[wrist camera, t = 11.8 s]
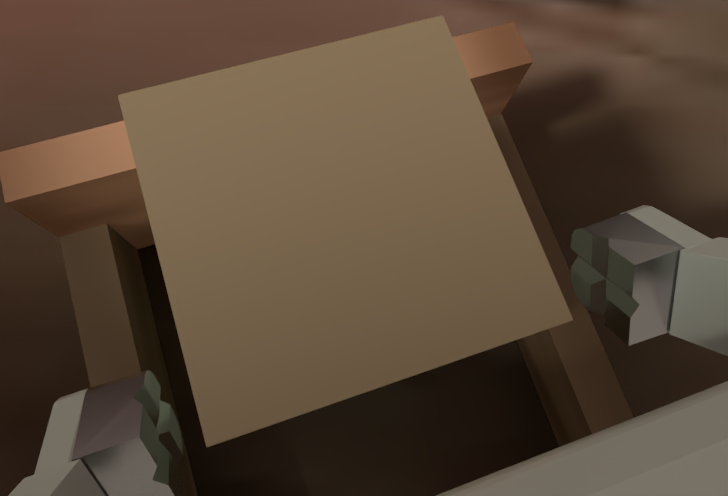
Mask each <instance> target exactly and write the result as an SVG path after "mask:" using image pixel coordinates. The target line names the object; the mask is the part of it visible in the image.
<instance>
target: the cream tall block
mask: <svg viewBox="0 0 728 496" xmlns="http://www.w3.org/2000/svg"><path fill="white" fill-rule="evenodd" d="M118 98H119V102H120V106H121V110H122V114H123V118H124V122H125V126H126V130H127V134H128V138H129V142H130V146H131V150H132V154H133V158H134V162H135V166H136V170H137V174H138V178H139V182H140V185H141V189H142V193H143V197H144V201H145V205H146V209H147V213H148V217H149V221H150V225H151V229H152V233H153V237H154V241H155V245H156V249H157V253H158V257H159V261H160V265H161V269H162V273H163V277H164V281H165V285H166V289H167V293H168V297H169V301H170V305H171V309H172V313H173V316H174V320H175V324H176V328H177V332H178V336H179V340H180V344H181V348H182V352H183V356H184V360H185V364H186V368H187V372H188V376H189V380H190V384H191V388H192V392H193V396H194V400H195V404H196V408H197V412H198V416H199V420H200V424H201V428H202V432H203V436H204V440H205V443H206V447H210V446H212V445H215V444H218V443H221V442H224V441H227V440H230V439H233V438H235V437H238V436H241V435H244V434H247V433H250V432H253V431H256V430H259V429H261V428H264V427H267V426H270V425H273V424H276V423H279V422H282V421H284V420H287V419H290V418H293V417H296V416H299V415H302V414H305V413H307V412H310V411H313V410H316V409H319V408H322V407H325V406H328V405H330V404H333V403H336V402H339V401H342V400H345V399H348V398H351V397H354V396H356V395H359V394H362V393H365V392H368V391H371V390H374V389H377V388H379V387H382V386H385V385H388V384H391V383H394V382H397V381H400V380H402V379H405V378H408V377H411V376H414V375H417V374H420V373H423V372H425V371H428V370H431V369H434V368H437V367H440V366H443V365H446V364H449V363H451V362H454V361H457V360H460V359H463V358H466V357H469V356H472V355H474V354H477V353H480V352H483V351H486V350H489V349H492V348H495V347H497V346H500V345H503V344H506V343H509V342H512V341H515V340H518V339H520V338H523V337H526V336H529V335H532V334H535V333H538V332H541V331H544V330H546V329H549V328H552V327H555V326H558V325H561V324H564V323H567V322H569V321H572V320H573V318H572V316H571V313H570V311H569V309H568V306H567V304H566V302H565V299H564V297H563V295H562V292H561V290H560V288H559V285H558V283H557V281H556V278H555V276H554V274H553V271H552V269H551V267H550V264H549V262H548V260H547V257H546V255H545V253H544V250H543V248H542V246H541V243H540V241H539V239H538V236H537V234H536V232H535V229H534V227H533V225H532V222H531V220H530V218H529V215H528V213H527V211H526V208H525V206H524V204H523V201H522V199H521V197H520V194H519V192H518V190H517V187H516V185H515V183H514V180H513V178H512V176H511V173H510V171H509V169H508V166H507V164H506V162H505V159H504V157H503V155H502V152H501V150H500V148H499V145H498V143H497V141H496V138H495V136H494V134H493V131H492V129H491V127H490V124H489V122H488V120H487V117H486V115H485V113H484V110H483V108H482V106H481V103H480V101H479V99H478V96H477V94H476V92H475V89H474V87H473V85H472V82H471V80H470V78H469V75H468V73H467V71H466V68H465V66H464V64H463V61H462V59H461V57H460V54H459V52H458V50H457V47H456V45H455V43H454V40H453V38H452V36H451V33H450V31H449V29H448V26H447V24H446V22H445V19H444V17H443V15H441V16H437V17H433V18H429V19H425V20H421V21H417V22H413V23H409V24H405V25H401V26H397V27H393V28H389V29H385V30H381V31H376V32H372V33H368V34H364V35H360V36H356V37H352V38H348V39H344V40H340V41H336V42H332V43H328V44H324V45H320V46H316V47H311V48H307V49H303V50H299V51H295V52H291V53H287V54H283V55H279V56H275V57H271V58H267V59H263V60H259V61H255V62H251V63H247V64H242V65H238V66H234V67H230V68H226V69H222V70H218V71H214V72H210V73H206V74H202V75H198V76H194V77H190V78H186V79H182V80H177V81H173V82H169V83H165V84H161V85H157V86H153V87H149V88H145V89H141V90H137V91H133V92H129V93H125V94H121V95H118Z"/></svg>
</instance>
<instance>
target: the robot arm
mask: <svg viewBox="0 0 728 496" xmlns="http://www.w3.org/2000/svg"><path fill="white" fill-rule="evenodd" d="M571 249H572V250H573V251H574V253H575V254H576V255H577V258H576V260H575V261H574V263H573V265H572V266H571V283H572V286H573V289H574V291H575V294H576V296H577V298H578V299H579V300H580V302H581V303H582V304H583V305H584V306H585V307H586V308H587V309H588V310H589V311H590V312H594V313H597V314H601V315H604V316H605V325H606V326H607V327H608V328H609V329H610V330H611V331H612V332H613V333H615V334H616V335H617V336H618V337H619V338H620V339H621V340H622V341H624V342H625V343H626V344H627V345H628V346H629V345H632V344H635V343H638V342H641V341H644V340H647V339H650V338H653V337H656V336H659V335H662V334H665V333H668V332H670V333H669V334H670V335H673V336H675V337H678V338H681V339H683V340H686V341H688V342H691V343H694V344H696V345H699V346H702V347H704V348H707V349H709V350H712V351H715V352H717V353H720V354H723V355H725V356H728V238H722V237H718V238H715V239H711V238H709V237H707V236H705V235H703V234H701V233H700V232H698V231H696V230H694V229H692V228H691V227H689V226H687V225H685V224H683V223H682V222H680V221H678V220H676V219H674V218H672V217H671V216H669V215H667V214H665V213H663V212H662V211H660V210H658V209H656V208H654V207H653V206H647V205H642V206H639V207H637V208H634V209H631V210H628V211H626V212H623V213H621V214H620V215H617V216H614V217H611V218H608V219H605V220H602V221H599V222H596V223H593V224H590V225H587V226H584V227H581V228H578V229H575V230H574V232H573V234H572V237H571ZM160 388H161V386H160V384H159V383H158V381H157V379H156V377H155V376H154V374H153V373H152V372H151V371H149V370H146V371H143V372H139V373H136V374H133V375H130V376H126V377H123V378H120V379H117V380H113V381H110V382H107V383H104V384H100V385H97V386H94V387H91V388H89V389H85V390H81V391H78V392H75V393H72V394H69V395H66V396H63V397H60V398H59V399H58V400H57V401H56V402H55V403H54V404H53V408H52V411H51V415H50V418H49V422H48V426H47V429H46V433H45V436H44V440H43V444H42V447H41V451H40V454H39V458H38V462H37V465H36V469H35V472H34V475H32V476H29V477H26V478H24V479H23V480H22V481H21V482H20V483H19V484H18V485H17V487H16V488H15V489H14V490H13V491H12V492H11V493H10V494H9V495H8V496H183V476H182V474H181V473H180V471H179V469H178V467H177V465H178V463H179V462H180V460H181V459H182V457H183V442H182V437H181V432H180V427H179V424H178V421H177V418H176V416H175V413H174V411H173V409H172V407H171V405H170V404H168V403H166V402H163V401H161V400H160ZM436 496H728V381H726V382H724V383H721V384H718V385H716V386H713V387H711V388H708V389H706V390H703V391H701V392H698V393H696V394H693V395H690V396H688V397H685V398H683V399H680V400H678V401H675V402H673V403H670V404H668V405H665V406H662V407H660V408H657V409H655V410H652V411H650V412H647V413H645V414H642V415H640V416H637V417H634V418H632V419H629V420H627V421H624V422H622V423H619V424H617V425H614V426H611V427H609V428H606V429H604V430H601V431H599V432H596V433H594V434H591V435H589V436H586V437H583V438H581V439H578V440H576V441H573V442H571V443H568V444H566V445H563V446H561V447H558V448H555V449H553V450H550V451H548V452H545V453H543V454H540V455H538V456H535V457H533V458H530V459H527V460H525V461H522V462H520V463H517V464H515V465H512V466H510V467H507V468H504V469H502V470H499V471H497V472H494V473H492V474H489V475H487V476H484V477H482V478H479V479H476V480H474V481H471V482H469V483H466V484H464V485H461V486H459V487H456V488H454V489H451V490H448V491H446V492H443V493H441V494H438V495H436Z"/></svg>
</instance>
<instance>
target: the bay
mask: <svg viewBox="0 0 728 496" xmlns="http://www.w3.org/2000/svg"><path fill="white" fill-rule="evenodd" d="M452 38H453V40H454V43H455V45H456V47H457V50H458V52H459V54H460V57H461V59H462V61H463V64H464V66H465V68H466V71H467V73H468V75H469V78H470V80H471V82H472V85H473V87H474V89H475V92H476V94H477V96H478V99H479V101H480V103H481V106H482V108H483V110H484V113H485V115H486V117H487V120H488V122H489V124H490V127H491V129H492V131H493V134H494V136H495V138H496V141H497V143H498V145H499V148H500V150H501V152H502V155H503V157H504V159H505V162H506V164H507V166H508V169H509V171H510V173H511V176H512V178H513V180H514V183H515V185H516V187H517V190H518V192H519V194H520V197H521V199H522V201H523V204H524V206H525V208H526V211H527V213H528V215H529V218H530V220H531V222H532V225H533V227H534V229H535V232H536V234H537V236H538V239H539V241H540V243H541V246H542V248H543V250H544V253H545V255H546V257H547V260H548V262H549V264H550V267H551V269H552V271H553V274H554V276H555V278H556V281H557V283H558V285H559V288H560V290H561V292H562V295H563V297H564V299H565V302H566V304H567V306H568V309H569V311H570V313H571V316H572V318H573V320H572V321H569V322H567V323H564V324H561V325H558V326H555V327H552V328H549V329H546V330H544V331H541V332H538V333H535V334H532V335H529V336H526V337H523V338H520V339H518V340H517V343H518V345H519V348H520V350H521V353H522V355H523V358H524V360H525V363H526V365H527V368H528V370H529V373H530V375H531V378H532V380H533V383H534V385H535V388H536V390H537V393H538V395H539V398H540V400H541V403H542V405H543V408H544V410H545V413H546V415H547V418H548V420H549V423H550V425H551V428H552V430H553V433H554V435H555V438H556V440H557V443H558V445H559V447H561V446H563V445H566V444H568V443H571V442H573V441H576V440H578V439H581V438H583V437H586V436H589V435H591V434H594V433H596V432H599V431H601V430H604V429H606V428H609V427H611V426H614V425H617V424H619V423H622V422H624V421H627V420H629V419H632V418H634V416H633V414H632V411H631V409H630V407H629V404H628V402H627V400H626V398H625V395H624V393H623V391H622V388H621V386H620V384H619V382H618V379H617V377H616V375H615V372H614V370H613V368H612V366H611V363H610V361H609V359H608V356H607V354H606V352H605V349H604V347H603V345H602V343H601V340H600V338H599V336H598V333H597V331H596V329H595V327H594V324H593V322H592V320H591V317H590V315H589V313H588V311H587V308H586V307H585V306H584V305H583V304H582V303H581V302H580V300H579V299H578V298H577V296H576V294H575V291H574V289H573V286H572V283H571V272H570V269H569V267H568V265H567V262H566V260H565V258H564V256H563V253H562V251H561V249H560V246H559V244H558V242H557V239H556V237H555V235H554V233H553V230H552V228H551V226H550V223H549V221H548V219H547V217H546V214H545V212H544V210H543V207H542V205H541V203H540V201H539V198H538V196H537V194H536V191H535V189H534V187H533V185H532V182H531V180H530V178H529V175H528V173H527V171H526V168H525V166H524V164H523V162H522V159H521V157H520V155H519V152H518V150H517V148H516V146H515V143H514V141H513V139H512V136H511V134H510V132H509V130H508V127H507V125H506V123H505V120H504V118H503V116H502V111H503V110H504V108H505V107H506V105H507V103H508V102H509V100H510V98H511V97H512V95H513V93H514V92H515V90H516V88H517V87H518V85H519V84H520V82H521V80H522V79H523V77H524V75H525V74H526V72H527V70H528V69H529V67H530V66H531V64H532V60H531V58H530V55H529V53H528V51H527V49H526V47H525V45H524V43H523V40H522V38H521V36H520V34H519V32H518V30H517V27H516V25H515V23H514V22H511V23H507V24H503V25H499V26H495V27H491V28H487V29H483V30H479V31H475V32H471V33H468V34H464V35H460V36H456V37H452ZM0 178H1V184H2V189H3V194H4V200H5V203H6V204H8V205H9V206H11V207H12V208H14V209H15V210H17V211H19V212H20V213H22V214H23V215H25V216H26V217H28V218H30V219H31V220H33V221H34V222H36V223H38V224H39V225H41V226H42V227H44V228H45V229H47V230H49V231H50V232H52V233H53V234H55V235H56V236H58V237H59V240H60V245H61V250H62V255H63V259H64V264H65V269H66V274H67V279H68V283H69V288H70V293H71V298H72V302H73V307H74V312H75V317H76V322H77V326H78V331H79V336H80V341H81V345H82V350H83V355H84V360H85V365H86V369H87V374H88V379H89V384H90V388H91V387H94V386H97V385H100V384H104V383H107V382H110V381H113V380H117V379H120V378H123V377H126V376H130V375H133V374H136V373H139V372H143V371H146V370H149V371H151V372H152V373H153V374H154V376H155V377H156V379H157V381H158V383H159V384H160V386H161V388H160V400H161V401H163V402H166V403H168V404H170V405H171V407H172V409H173V411H174V413H175V416H176V418H177V421H178V424H179V427H180V432H181V437H182V442H183V457H182V459H181V460H180V462H179V463H178V465H177V467H178V469H179V471H180V473H181V474H182V476H183V496H198V495H197V491H196V487H195V483H194V479H193V475H192V471H191V467H190V462H189V458H188V454H187V450H186V446H185V442H184V438H183V434H182V430H181V426H180V421H179V417H178V413H177V409H176V405H175V401H174V397H173V393H172V389H171V385H170V380H169V376H168V372H167V368H166V364H165V360H164V356H163V352H162V348H161V344H160V339H159V335H158V331H157V327H156V323H155V319H154V315H153V311H152V307H151V303H150V298H149V294H148V290H147V286H146V282H145V278H144V274H143V270H142V266H141V262H140V257H139V253H138V249H141V248H144V247H148V246H151V245H155V241H154V237H153V233H152V229H151V225H150V221H149V217H148V213H147V209H146V205H145V201H144V197H143V193H142V189H141V185H140V182H139V178H138V174H137V170H136V166H135V162H134V158H133V154H132V150H131V146H130V142H129V138H128V134H127V130H126V126H125V122H124V121H121V122H117V123H113V124H109V125H105V126H101V127H97V128H93V129H89V130H85V131H81V132H77V133H73V134H69V135H65V136H61V137H57V138H53V139H50V140H46V141H42V142H38V143H34V144H30V145H26V146H22V147H18V148H14V149H10V150H6V151H2V152H0Z"/></svg>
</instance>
